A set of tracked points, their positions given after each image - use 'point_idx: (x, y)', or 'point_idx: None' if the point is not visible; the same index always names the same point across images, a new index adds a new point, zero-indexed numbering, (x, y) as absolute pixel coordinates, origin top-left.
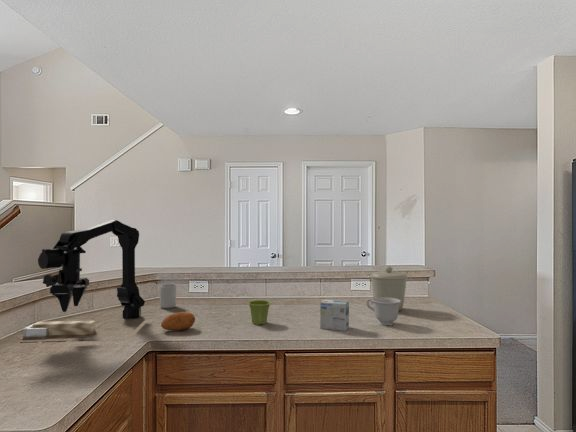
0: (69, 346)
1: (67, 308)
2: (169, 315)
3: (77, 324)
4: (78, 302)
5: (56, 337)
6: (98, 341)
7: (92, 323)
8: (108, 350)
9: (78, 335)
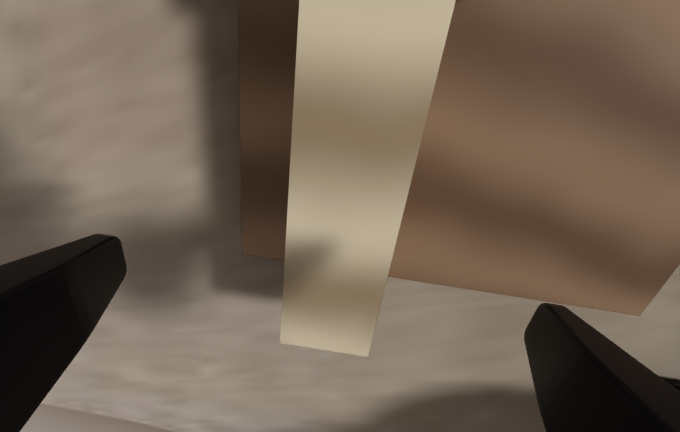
0: (150, 186)
1: (92, 323)
2: None
3: (286, 253)
4: (540, 409)
5: (244, 71)
6: (240, 305)
7: (304, 340)
8: (106, 350)
9: (281, 219)
